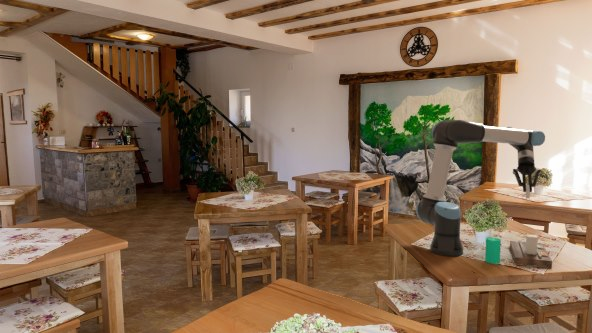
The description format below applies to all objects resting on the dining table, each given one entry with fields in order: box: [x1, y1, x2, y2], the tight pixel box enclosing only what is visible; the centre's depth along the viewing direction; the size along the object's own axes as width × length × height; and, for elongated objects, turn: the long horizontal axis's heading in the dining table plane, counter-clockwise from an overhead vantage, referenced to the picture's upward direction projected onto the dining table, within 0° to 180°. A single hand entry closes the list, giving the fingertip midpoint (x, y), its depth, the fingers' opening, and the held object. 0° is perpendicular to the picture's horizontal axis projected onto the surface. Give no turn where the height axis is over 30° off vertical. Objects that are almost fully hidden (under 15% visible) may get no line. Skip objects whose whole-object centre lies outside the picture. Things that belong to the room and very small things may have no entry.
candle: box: [484, 235, 502, 265], centre depth 185 cm, size 6×6×12 cm
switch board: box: [509, 240, 553, 269], centre depth 192 cm, size 14×28×4 cm, turn 157°
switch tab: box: [525, 233, 539, 255], centre depth 186 cm, size 4×4×8 cm
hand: (527, 196), depth 204 cm, fingers closed
